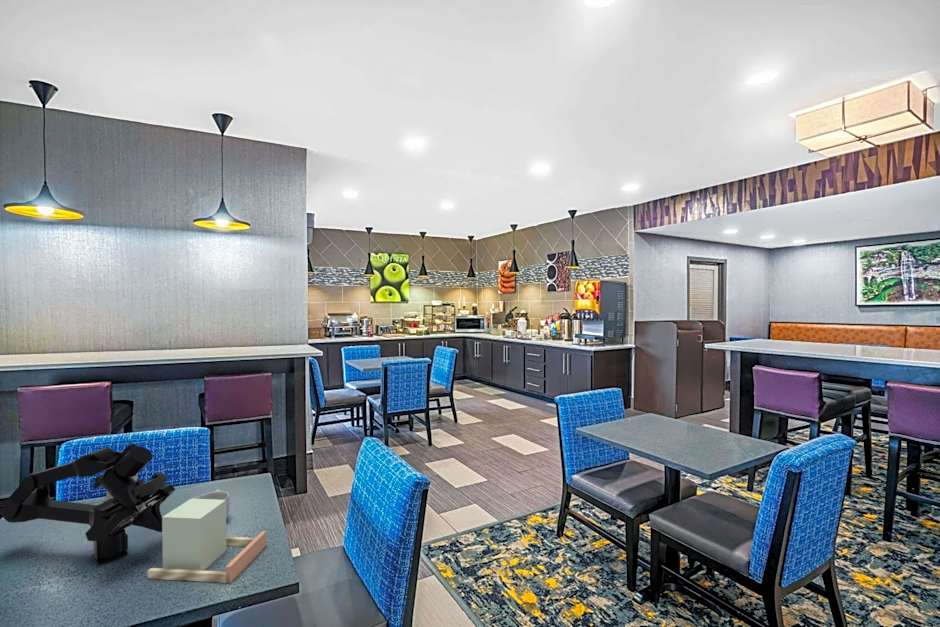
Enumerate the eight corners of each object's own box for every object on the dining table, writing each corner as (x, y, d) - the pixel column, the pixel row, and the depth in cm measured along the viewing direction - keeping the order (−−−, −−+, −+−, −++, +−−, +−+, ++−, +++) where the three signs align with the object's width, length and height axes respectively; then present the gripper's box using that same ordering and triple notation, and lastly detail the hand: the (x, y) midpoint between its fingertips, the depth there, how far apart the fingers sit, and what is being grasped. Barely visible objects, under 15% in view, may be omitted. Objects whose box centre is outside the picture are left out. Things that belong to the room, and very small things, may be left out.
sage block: (162, 571, 118) (162, 517, 118) (191, 548, 129) (191, 498, 129) (200, 573, 117) (200, 518, 117) (226, 550, 128) (226, 499, 128)
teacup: (217, 532, 138) (217, 505, 138) (181, 531, 138) (180, 504, 138) (241, 511, 152) (241, 486, 152) (208, 510, 152) (208, 486, 152)
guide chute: (147, 578, 115) (147, 562, 115) (194, 542, 132) (193, 528, 132) (230, 582, 113) (230, 566, 113) (266, 545, 131) (266, 531, 131)
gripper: (114, 480, 114) (157, 527, 114) (168, 455, 133) (206, 495, 132) (84, 511, 115) (127, 557, 114) (142, 481, 133) (180, 521, 133)
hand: (163, 530), depth 124 cm, fingers closed
